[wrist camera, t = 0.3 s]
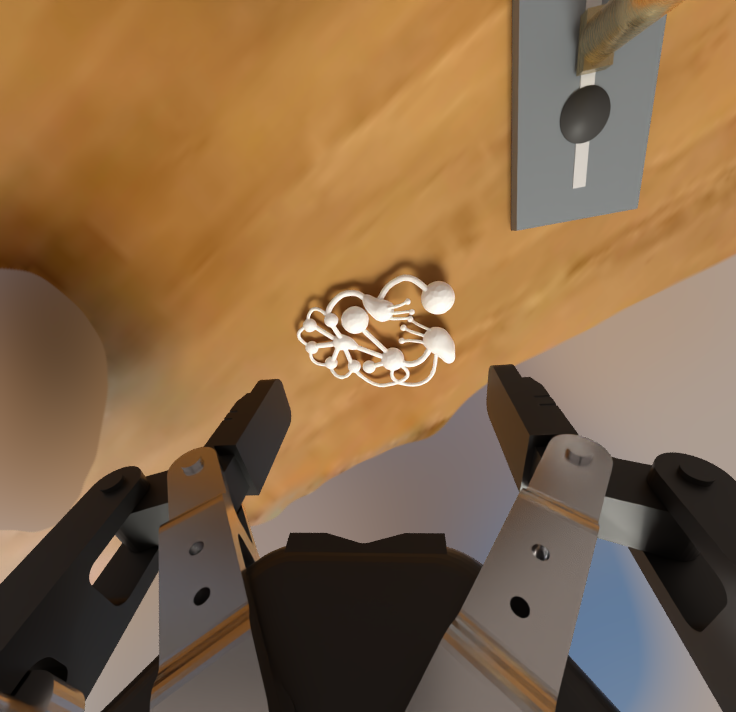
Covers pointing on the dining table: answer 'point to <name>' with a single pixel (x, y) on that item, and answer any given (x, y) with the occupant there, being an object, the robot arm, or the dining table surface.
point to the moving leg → (614, 29)
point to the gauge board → (576, 117)
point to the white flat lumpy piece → (355, 321)
